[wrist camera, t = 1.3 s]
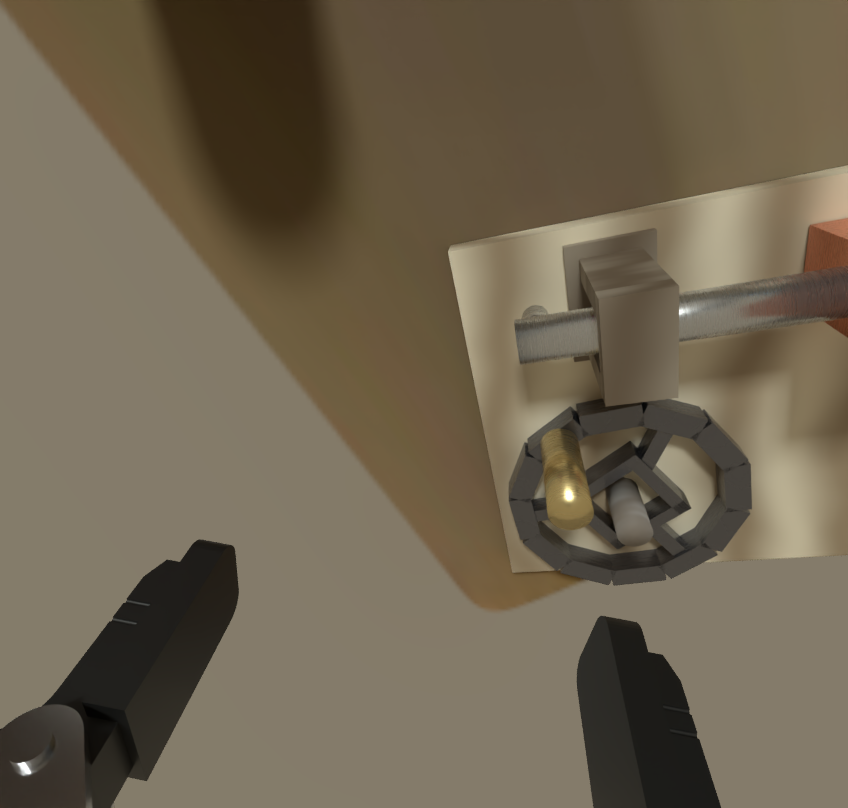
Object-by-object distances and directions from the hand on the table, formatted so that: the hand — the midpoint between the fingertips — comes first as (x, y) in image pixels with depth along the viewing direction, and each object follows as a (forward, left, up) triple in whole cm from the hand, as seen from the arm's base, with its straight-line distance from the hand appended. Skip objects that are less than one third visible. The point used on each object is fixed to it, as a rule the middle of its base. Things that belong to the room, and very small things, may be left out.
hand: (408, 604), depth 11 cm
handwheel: (-7, +14, -20) cm, 25 cm away
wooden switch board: (-15, +9, -22) cm, 27 cm away
